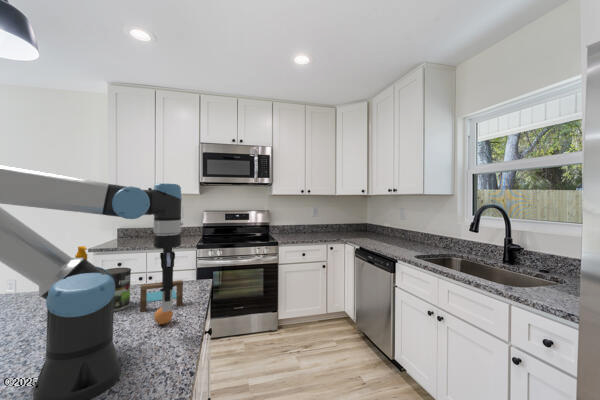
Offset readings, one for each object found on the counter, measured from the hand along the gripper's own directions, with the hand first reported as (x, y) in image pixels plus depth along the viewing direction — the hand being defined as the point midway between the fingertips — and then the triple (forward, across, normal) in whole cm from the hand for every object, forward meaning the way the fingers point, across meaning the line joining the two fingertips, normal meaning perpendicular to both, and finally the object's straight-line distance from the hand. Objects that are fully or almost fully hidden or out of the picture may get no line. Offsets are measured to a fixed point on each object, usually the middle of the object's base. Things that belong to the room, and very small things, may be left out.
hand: (167, 310), depth 82 cm
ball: (+5, +10, 0) cm, 11 cm away
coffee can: (+8, +34, +17) cm, 38 cm away
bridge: (+8, +26, 0) cm, 27 cm away
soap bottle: (+8, +35, +27) cm, 45 cm away
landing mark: (+8, +40, 0) cm, 40 cm away
